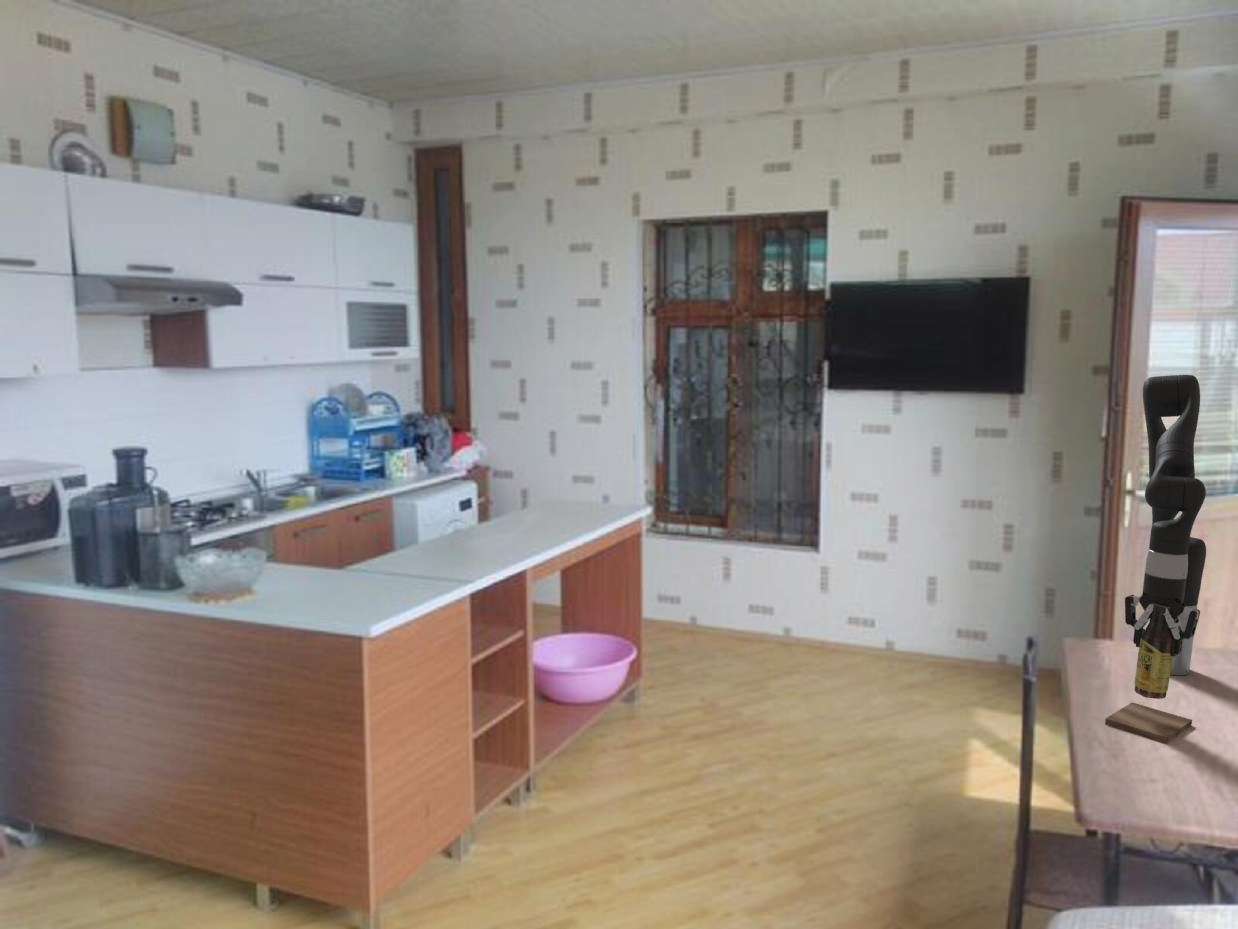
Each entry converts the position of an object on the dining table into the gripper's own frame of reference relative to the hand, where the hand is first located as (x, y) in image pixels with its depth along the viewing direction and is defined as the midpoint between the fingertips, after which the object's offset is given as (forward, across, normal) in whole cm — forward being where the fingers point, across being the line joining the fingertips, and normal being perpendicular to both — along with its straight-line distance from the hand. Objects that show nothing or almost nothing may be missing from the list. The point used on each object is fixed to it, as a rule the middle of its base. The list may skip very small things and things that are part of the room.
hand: (1156, 650), depth 203 cm
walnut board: (+16, 0, 0) cm, 16 cm away
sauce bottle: (+10, 0, 0) cm, 10 cm away
